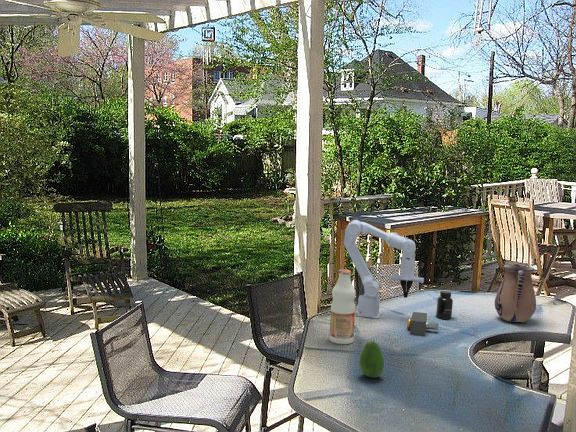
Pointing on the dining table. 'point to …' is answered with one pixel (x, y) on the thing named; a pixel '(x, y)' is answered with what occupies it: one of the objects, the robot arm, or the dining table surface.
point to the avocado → (371, 360)
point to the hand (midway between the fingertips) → (405, 297)
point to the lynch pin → (428, 325)
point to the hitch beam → (418, 323)
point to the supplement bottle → (444, 306)
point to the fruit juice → (342, 310)
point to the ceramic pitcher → (516, 294)
